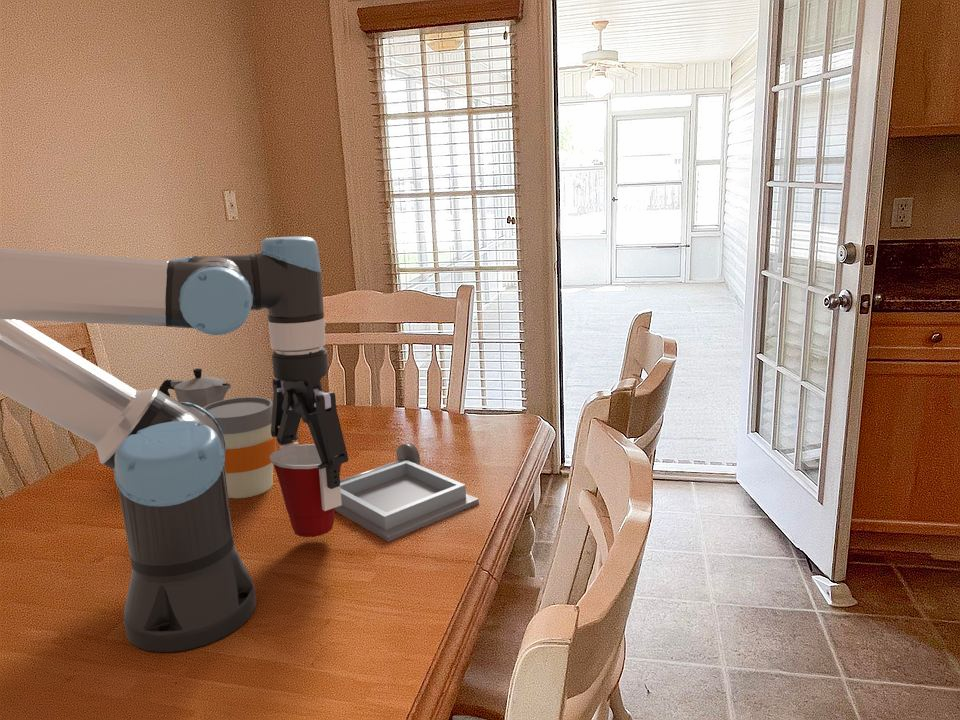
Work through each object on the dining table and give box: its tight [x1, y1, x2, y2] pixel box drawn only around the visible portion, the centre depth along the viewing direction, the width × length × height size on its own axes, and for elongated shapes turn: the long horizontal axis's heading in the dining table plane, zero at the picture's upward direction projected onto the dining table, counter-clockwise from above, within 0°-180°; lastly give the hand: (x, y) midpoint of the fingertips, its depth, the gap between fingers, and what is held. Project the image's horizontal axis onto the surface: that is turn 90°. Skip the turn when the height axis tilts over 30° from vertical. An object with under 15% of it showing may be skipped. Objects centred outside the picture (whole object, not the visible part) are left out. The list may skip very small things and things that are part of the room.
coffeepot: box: [158, 368, 232, 408], centre depth 142 cm, size 15×9×18 cm, turn 79°
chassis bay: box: [335, 442, 480, 543], centre depth 119 cm, size 21×23×5 cm
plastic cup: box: [269, 443, 343, 538], centre depth 105 cm, size 11×11×12 cm
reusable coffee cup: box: [203, 396, 277, 499], centre depth 125 cm, size 13×12×15 cm
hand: (311, 495), depth 105 cm, fingers closed on plastic cup, 11 cm apart
